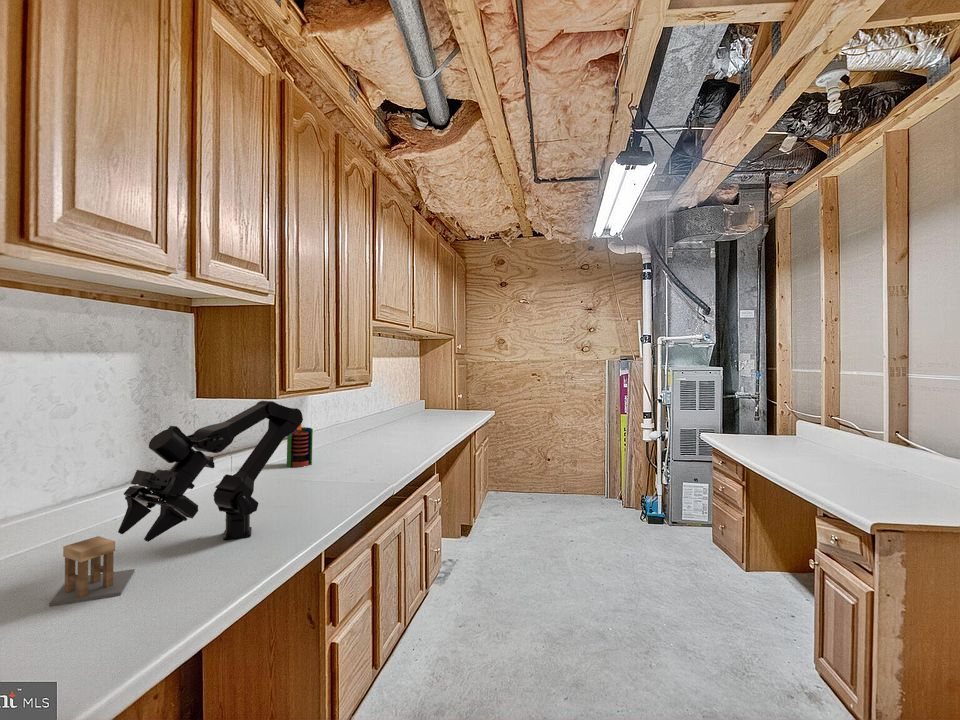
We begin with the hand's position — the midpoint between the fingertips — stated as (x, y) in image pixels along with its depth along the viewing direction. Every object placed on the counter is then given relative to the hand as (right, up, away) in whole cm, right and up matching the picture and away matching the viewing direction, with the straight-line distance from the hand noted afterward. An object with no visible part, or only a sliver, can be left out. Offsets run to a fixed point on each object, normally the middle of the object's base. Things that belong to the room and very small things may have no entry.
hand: (132, 537), depth 103 cm
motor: (-3, -7, +103) cm, 104 cm away
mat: (-4, -8, -6) cm, 11 cm away
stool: (-3, -8, -7) cm, 11 cm away
